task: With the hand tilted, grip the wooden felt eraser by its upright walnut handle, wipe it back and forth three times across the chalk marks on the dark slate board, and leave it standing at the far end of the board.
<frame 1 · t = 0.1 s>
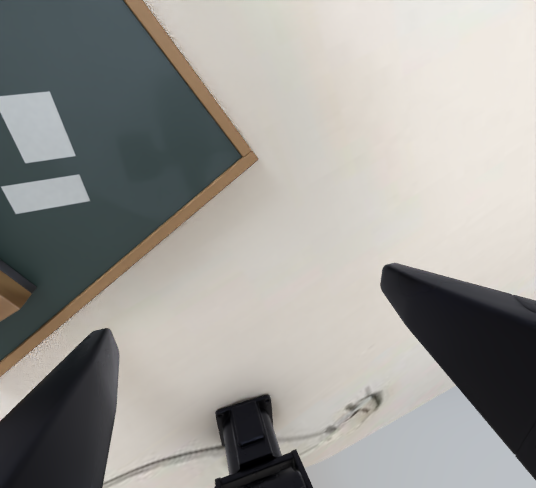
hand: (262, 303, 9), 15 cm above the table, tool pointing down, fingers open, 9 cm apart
slate board: (0, 186, 18), on the table
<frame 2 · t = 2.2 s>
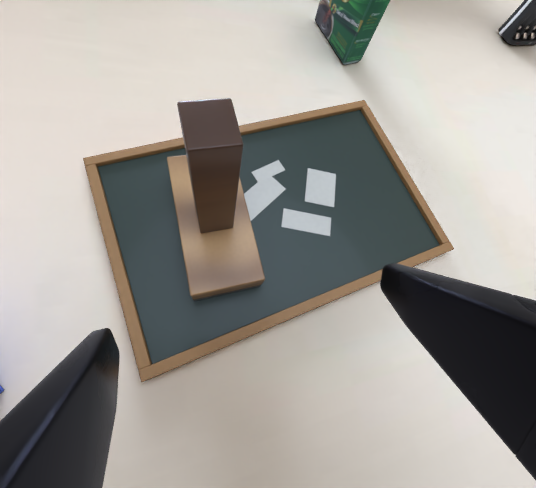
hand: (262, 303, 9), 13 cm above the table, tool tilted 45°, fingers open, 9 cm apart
slate board: (278, 211, 26), on the table
battery charger: (517, 41, 42), on the table
coffee box: (335, 41, 35), on the table
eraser: (214, 228, 23), point 1 cm above the table, touching slate board
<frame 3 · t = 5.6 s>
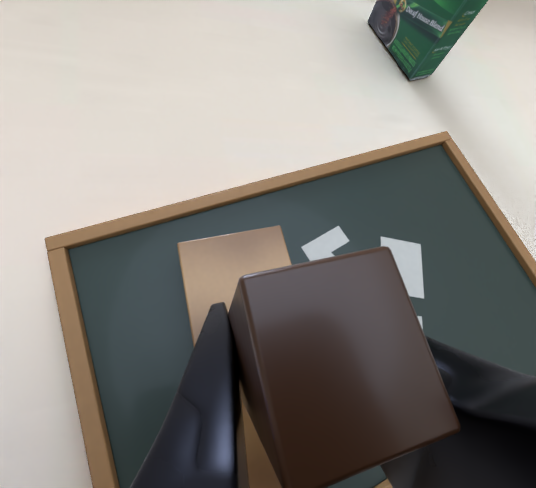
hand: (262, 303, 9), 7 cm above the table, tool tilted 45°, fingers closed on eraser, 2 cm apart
slate board: (342, 306, 17), on the table
coffee box: (395, 49, 26), on the table
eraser: (250, 347, 15), point 1 cm above the table, touching gripper, slate board
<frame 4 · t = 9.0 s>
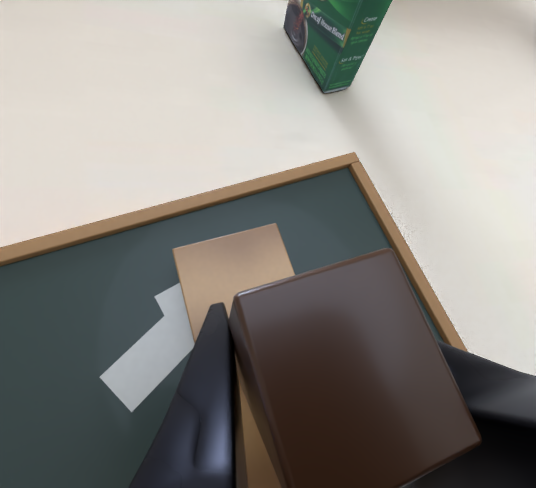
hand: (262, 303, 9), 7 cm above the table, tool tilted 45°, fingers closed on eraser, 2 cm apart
slate board: (200, 366, 15), on the table
coffee box: (313, 58, 24), on the table
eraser: (254, 349, 15), point 1 cm above the table, touching gripper
when the fingers open (7 cm above the table, at t = 12.9 s): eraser stays where it is, resting on slate board.
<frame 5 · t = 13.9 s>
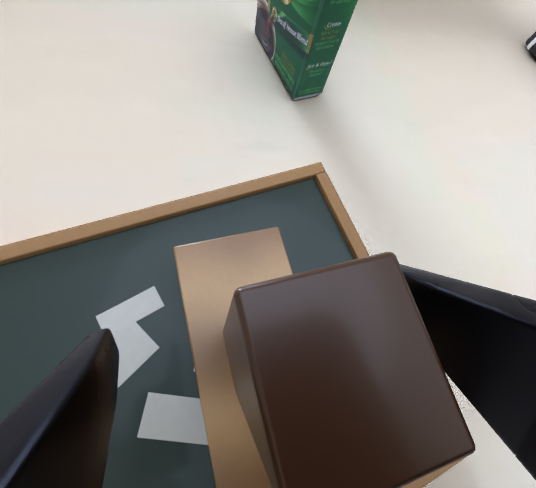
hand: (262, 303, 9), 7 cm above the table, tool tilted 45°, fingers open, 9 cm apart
slate board: (143, 391, 14), on the table
coffee box: (285, 63, 23), on the table
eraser: (250, 351, 15), point 1 cm above the table, touching slate board
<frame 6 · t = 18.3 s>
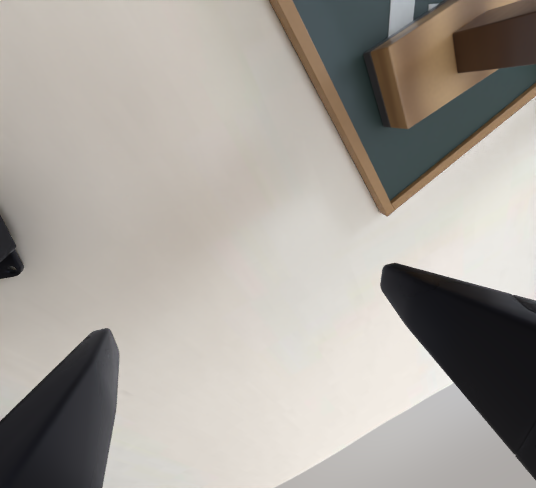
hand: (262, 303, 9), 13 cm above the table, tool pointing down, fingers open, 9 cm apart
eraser: (438, 50, 20), point 1 cm above the table, touching slate board
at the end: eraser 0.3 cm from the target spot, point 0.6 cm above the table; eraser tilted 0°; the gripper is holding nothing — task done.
